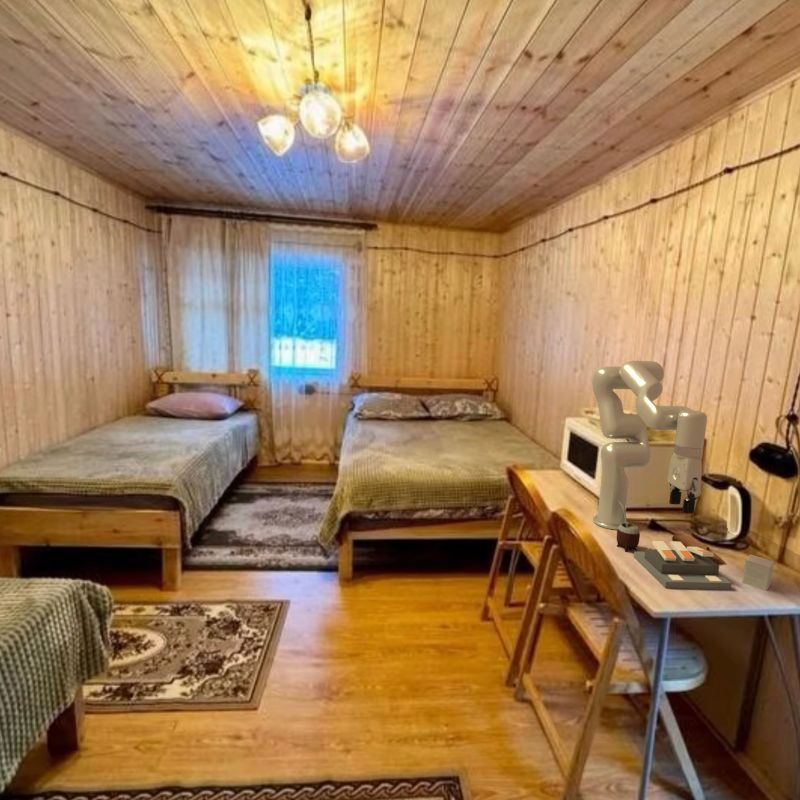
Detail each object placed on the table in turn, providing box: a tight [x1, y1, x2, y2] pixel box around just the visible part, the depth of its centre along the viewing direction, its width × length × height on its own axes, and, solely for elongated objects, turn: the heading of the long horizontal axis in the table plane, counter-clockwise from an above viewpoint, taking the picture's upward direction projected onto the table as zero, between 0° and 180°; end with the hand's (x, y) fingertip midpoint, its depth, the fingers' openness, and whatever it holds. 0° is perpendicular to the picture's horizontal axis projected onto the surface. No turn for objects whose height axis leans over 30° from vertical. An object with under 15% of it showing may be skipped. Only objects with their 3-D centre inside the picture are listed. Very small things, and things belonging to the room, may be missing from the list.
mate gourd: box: [616, 500, 641, 553], centre depth 167 cm, size 8×8×15 cm
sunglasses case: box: [671, 532, 728, 566], centre depth 167 cm, size 18×7×7 cm
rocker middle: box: [669, 540, 695, 561], centre depth 151 cm, size 8×3×2 cm, turn 1°
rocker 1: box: [652, 540, 676, 561], centre depth 151 cm, size 8×3×2 cm, turn 1°
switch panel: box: [633, 548, 732, 590], centre depth 152 cm, size 19×19×5 cm
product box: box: [742, 554, 775, 592], centre depth 147 cm, size 6×6×7 cm
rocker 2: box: [687, 547, 713, 557], centre depth 151 cm, size 8×3×2 cm, turn 0°
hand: (681, 507), depth 152 cm, fingers open, 6 cm apart
